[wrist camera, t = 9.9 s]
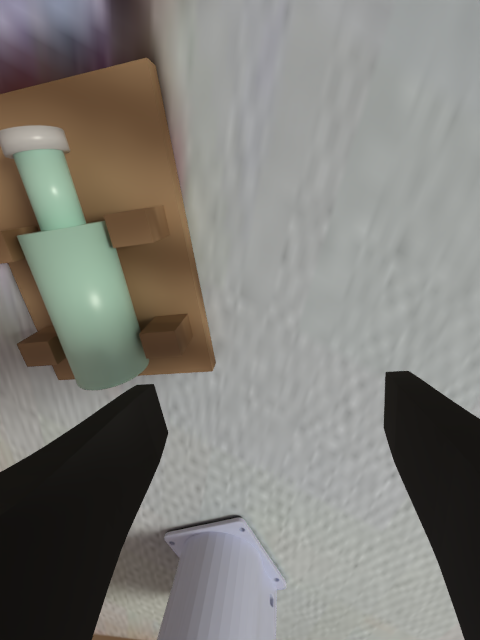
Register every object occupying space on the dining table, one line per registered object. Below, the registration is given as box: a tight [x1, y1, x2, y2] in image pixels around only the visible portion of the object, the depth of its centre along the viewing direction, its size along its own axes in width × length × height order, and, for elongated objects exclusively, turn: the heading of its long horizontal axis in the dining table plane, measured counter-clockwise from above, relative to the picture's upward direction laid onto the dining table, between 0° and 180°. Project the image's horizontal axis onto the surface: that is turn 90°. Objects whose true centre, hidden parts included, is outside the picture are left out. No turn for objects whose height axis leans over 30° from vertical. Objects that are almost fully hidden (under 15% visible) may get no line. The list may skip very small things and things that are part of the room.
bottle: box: [0, 125, 149, 390], centre depth 16 cm, size 12×4×4 cm, turn 8°
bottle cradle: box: [0, 58, 216, 380], centre depth 17 cm, size 16×11×3 cm
